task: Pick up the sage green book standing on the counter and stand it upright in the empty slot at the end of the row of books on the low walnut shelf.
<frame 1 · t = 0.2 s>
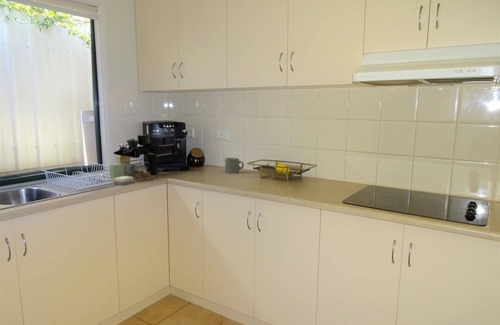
hand: (117, 153, 216), 17 cm above the countertop, tool horizontal, fingers open, 9 cm apart
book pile: (124, 183, 208), on the countertop
coffee mug: (234, 172, 247), on the countertop
sage book: (117, 179, 218), on the countertop
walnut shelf: (136, 178, 222), on the countertop
supplement box: (124, 174, 238), on the countertop
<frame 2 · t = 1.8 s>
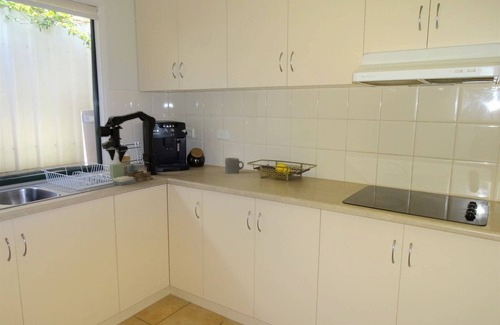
hand: (116, 161, 217), 12 cm above the countertop, tool pointing down, fingers open, 9 cm apart
nothing on the countertop moved.
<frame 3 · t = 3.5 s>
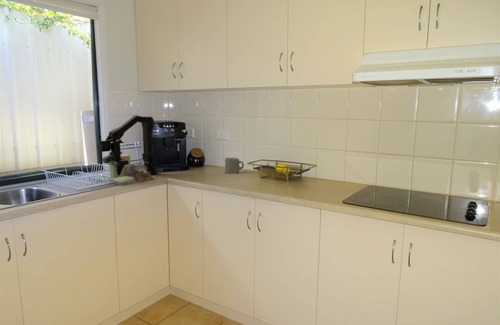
hand: (117, 175, 218), 3 cm above the countertop, tool pointing down, fingers closed on sage book, 4 cm apart
sage book: (117, 179, 218), on the countertop, touching gripper
everything else where it was.
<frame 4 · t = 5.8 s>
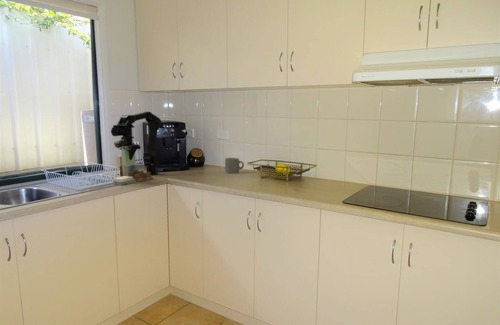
hand: (128, 159, 218), 13 cm above the countertop, tool pointing down, fingers closed on sage book, 4 cm apart
sage book: (129, 164, 218), point 10 cm above the countertop, touching gripper
everything else where it was.
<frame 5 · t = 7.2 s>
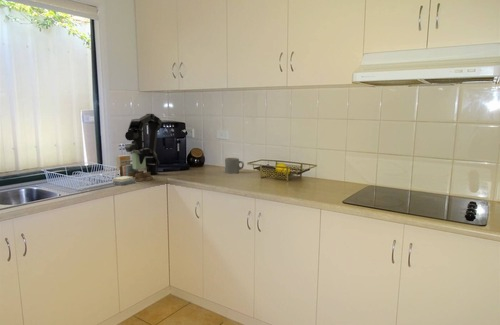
hand: (139, 163, 219), 10 cm above the countertop, tool pointing down, fingers closed on sage book, 4 cm apart
sage book: (139, 168, 219), point 7 cm above the countertop, touching gripper
everything else where it was.
when the fingers open (5 cm above the countertop, at t = 8.5 s): sage book stays where it is, resting on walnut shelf.
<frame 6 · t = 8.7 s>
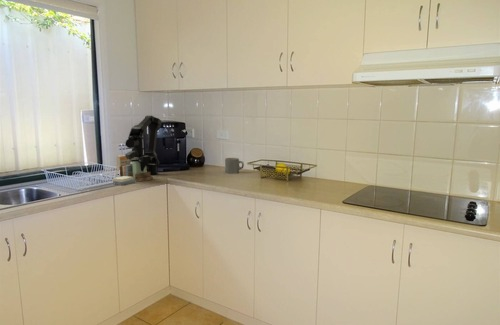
hand: (139, 170, 219), 5 cm above the countertop, tool pointing down, fingers open, 6 cm apart
sage book: (139, 176, 220), point 1 cm above the countertop, touching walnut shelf
everything else where it was.
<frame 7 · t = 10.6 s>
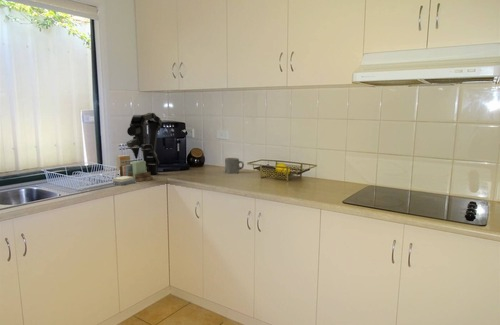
hand: (140, 159, 219), 13 cm above the countertop, tool pointing down, fingers open, 9 cm apart
nothing on the countertop moved.
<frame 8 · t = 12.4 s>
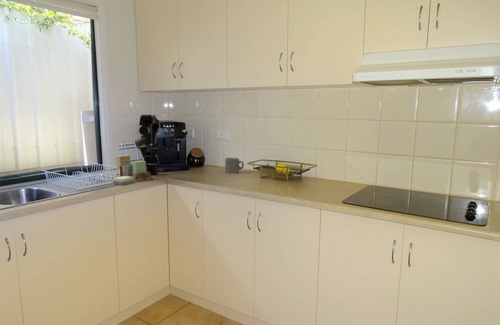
hand: (148, 158, 224), 13 cm above the countertop, tool pointing down, fingers open, 9 cm apart
nothing on the countertop moved.
at the end: sage book 0.0 cm from the target spot on the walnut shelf, point 1.5 cm above the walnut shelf's base; sage book tilted 0°; the gripper is holding nothing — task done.
